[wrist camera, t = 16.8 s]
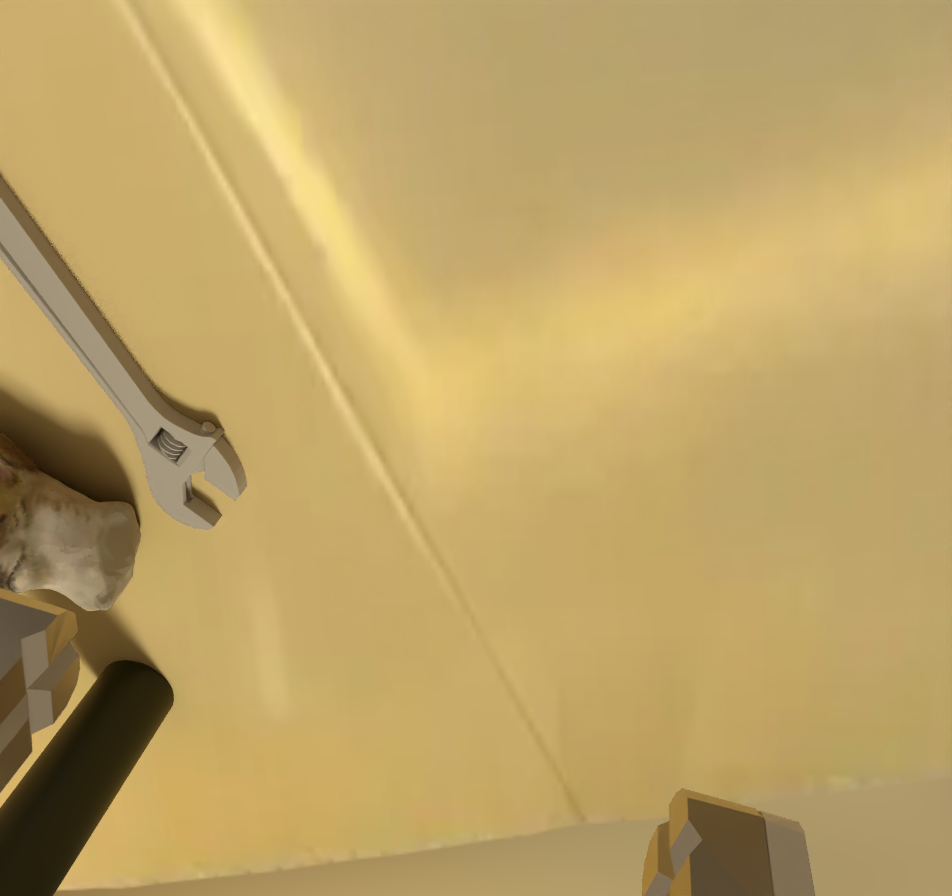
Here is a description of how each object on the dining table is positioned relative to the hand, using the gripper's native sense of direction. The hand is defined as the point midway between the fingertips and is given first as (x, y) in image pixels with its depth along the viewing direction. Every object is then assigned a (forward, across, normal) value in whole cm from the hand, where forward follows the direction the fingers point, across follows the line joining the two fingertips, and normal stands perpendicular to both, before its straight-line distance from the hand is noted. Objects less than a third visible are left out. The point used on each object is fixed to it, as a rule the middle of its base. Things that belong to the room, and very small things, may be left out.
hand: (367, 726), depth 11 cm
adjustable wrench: (+35, +23, +17) cm, 45 cm away
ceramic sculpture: (+34, +27, +30) cm, 53 cm away
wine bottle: (+34, +22, +46) cm, 61 cm away
